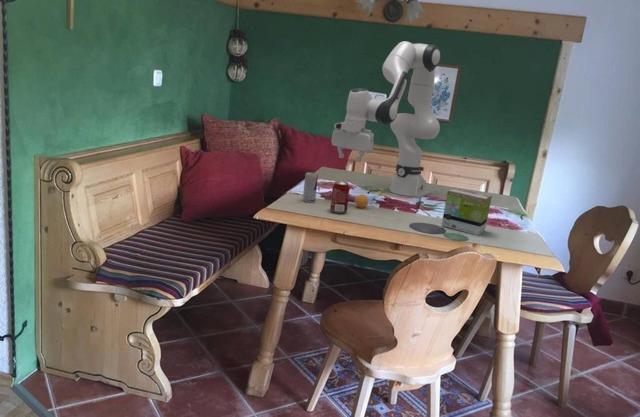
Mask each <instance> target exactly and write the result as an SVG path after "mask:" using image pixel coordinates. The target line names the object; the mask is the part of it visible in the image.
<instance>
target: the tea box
mask: <svg viewBox="0 0 640 417" xmlns="http://www.w3.org/2000/svg"><path fill="white" fill-rule="evenodd" d="M492 197H493V195H491V194H486V193H482V192H477V191H473V190H467V189H464V188H459V187H454V188H452V189H450V190H447V195H446V199H445V205H444V210H443V215H442V219H441V221H442V222H441V227H443V228H449V229H453V230H457V231H461V232H464V233H468V234H472V235H475V236H479V235H480V234H482V233H484V232H485V231H486V227H487V222H488V217H489V213H490V208H491V203H492Z"/></svg>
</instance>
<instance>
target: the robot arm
mask: <svg viewBox="0 0 640 417" xmlns="http://www.w3.org/2000/svg"><path fill="white" fill-rule="evenodd" d="M441 55H442V54H441V51H440V48H439V47H438V46H437V45H434V44H427V43H420V42H419V43H412V42H409V41H404V40H403V41H401V42H398V44H397V45H395V47H394V48H393V49H392V50H391V52H390V53H389V55H388V56H387V57H386V59H385V61H384V62H383V64H382V68H381V69H382V74H383V76H384V78H385V80H387V82H389V83H391V84H392V85H393V87H392V88H391V92H390V94H389V96H388V97H387V98H385V99H381V98H374V97H373V96H371V95H370V93H369V92H370V91H369V89H367V88H363V87H362V88H361V87H359V88H358V87H356V88H352V89H351V90H350V91H349V92H348V93H349V94H348V97H347V101H346V114H345V117H344V121H342V122H337V123H334V126H333V127H334V130H333V132H332V136H331V145H332V146H335V147H337V151H338V158H340V159H345V158H344V157H345V154H344V152H343V150H344V149H348V150H353V151H358V154H359V155H358V156H357V157H356V158H355V161H356V162H357V163H362V158H363V157H364V156H365V154H366V153H369V154H371V153H372V152H373V151H374V138H375V134H374V132H373V131H372V130H371V129H365V128H366V123H367V122H366V121H369V122H374V123H379V124H383V125H385V126H386V125H390V129H391V131H392V132H393V134H394V135H395V138H396V140H397V142H398V158H397V163H396V166H395V173H393V175H392V179H391V184H390V186H389V187H388V190H389V191H390V192H391V193H392V194H395V195H400V196H406V197H415V198H423V197H425V196H427V195H429V194H431V191H430V190H427V181H426V179H425V178H424V177H423V176H422V172H423V171H424V172H425V167H424V166H421V162H422V157H423V156H422V154H423V151H422V149H421V148H420V146H418V145H417V143H416V140H415V138H416V139H420V140H421V139H422V140H434V139H435V138H437V136H438V135H439V133H440V130H441V125H440V122H439V120H438V119H437V118H436V116H435V115H434V112H433V109H432V97H433V91H434V85H435V75H436V68H437V66H438V65H439V64H440V61H441ZM410 69H413V72H412V75H411V78H410V77H409V74H408V72H409V70H410ZM409 78H410V79H409ZM409 80H410V84H409ZM408 84H409V90H408V96H407V101H408V103H409V104H410V105H411V106H412V107H413V109H414V113H407V112H401V113H398V112H399V108H400V105H401V102H402V100H403V98H404V95H405V93H406V90H407V87H408Z"/></svg>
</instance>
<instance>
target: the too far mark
mask: <svg viewBox="0 0 640 417" xmlns="http://www.w3.org/2000/svg"><path fill="white" fill-rule="evenodd" d="M443 237H445V238H447V239H449V240H453V241H459V242H466V241H468V240H469V236H466V235H464V234H460V233H456V232H446V233H443Z"/></svg>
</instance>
